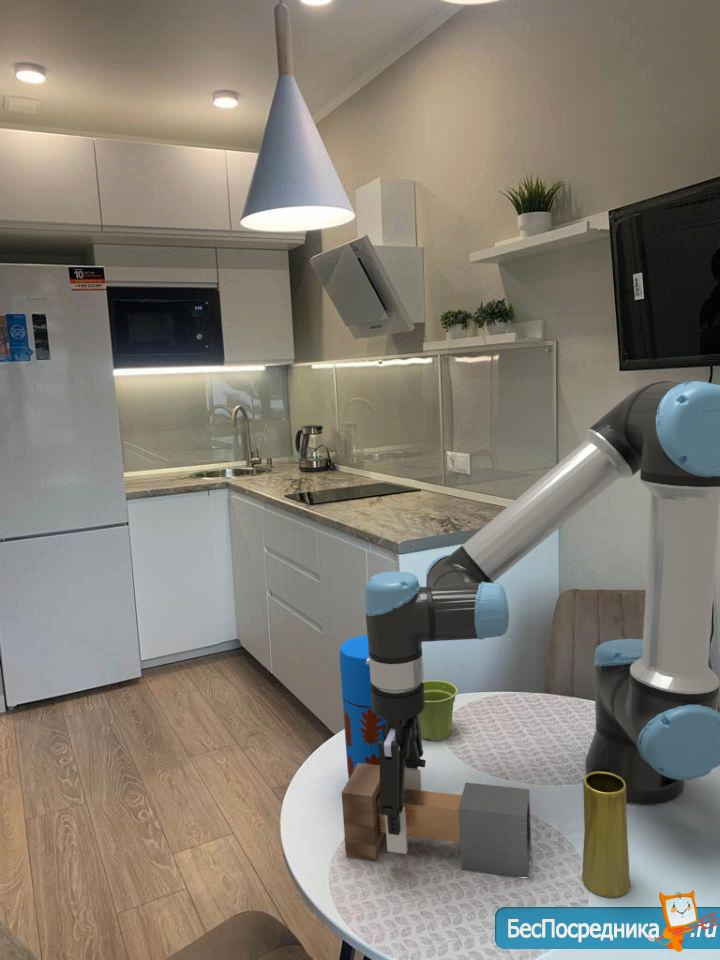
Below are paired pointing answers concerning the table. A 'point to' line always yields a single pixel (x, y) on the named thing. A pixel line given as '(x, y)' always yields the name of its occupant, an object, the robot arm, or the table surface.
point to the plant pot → (437, 710)
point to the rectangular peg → (428, 815)
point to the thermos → (359, 705)
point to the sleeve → (495, 830)
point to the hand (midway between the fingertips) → (405, 829)
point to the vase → (605, 835)
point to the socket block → (362, 813)
